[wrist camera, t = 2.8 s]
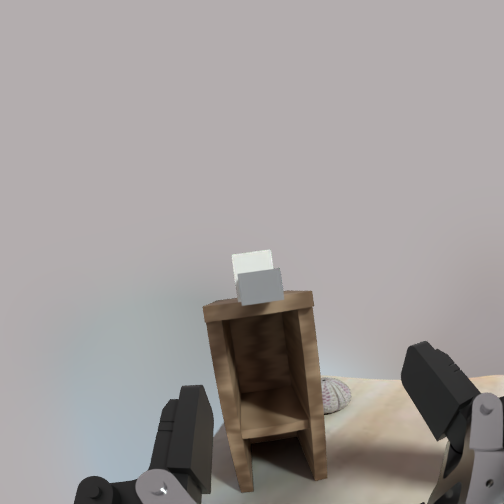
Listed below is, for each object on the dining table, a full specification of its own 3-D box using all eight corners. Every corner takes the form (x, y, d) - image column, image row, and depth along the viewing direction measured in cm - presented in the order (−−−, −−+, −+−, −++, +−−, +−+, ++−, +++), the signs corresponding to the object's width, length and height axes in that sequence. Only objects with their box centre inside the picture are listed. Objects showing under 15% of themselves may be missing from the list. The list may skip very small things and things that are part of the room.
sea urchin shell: (295, 403, 67) (292, 377, 68) (341, 391, 68) (339, 366, 69) (307, 423, 54) (304, 394, 55) (360, 408, 55) (359, 380, 56)
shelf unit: (303, 429, 51) (286, 290, 55) (328, 481, 31) (312, 290, 35) (241, 438, 50) (217, 300, 54) (241, 496, 30) (202, 306, 34)
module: (268, 294, 46) (263, 259, 47) (289, 298, 26) (280, 236, 26) (239, 298, 46) (234, 263, 47) (236, 306, 25) (227, 242, 26)
